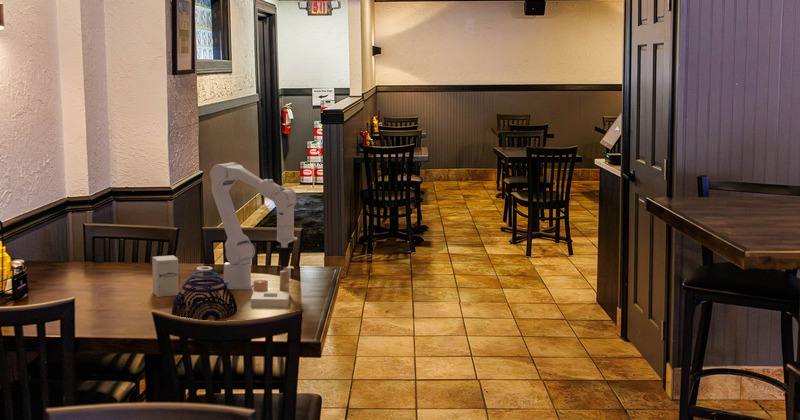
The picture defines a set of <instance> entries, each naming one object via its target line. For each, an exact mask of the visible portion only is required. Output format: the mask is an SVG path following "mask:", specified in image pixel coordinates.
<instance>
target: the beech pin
mask: <svg viewBox="0 0 800 420" xmlns="http://www.w3.org/2000/svg"><path fill="white" fill-rule="evenodd" d="M279 291H290V270H280V271H279Z"/></svg>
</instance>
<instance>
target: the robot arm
mask: <svg viewBox="0 0 800 420" xmlns="http://www.w3.org/2000/svg"><path fill="white" fill-rule="evenodd" d="M209 177H210V180H211V193H212V196H213V199H214V202H215V205H216V207H217V210H218V214H219V217H220V219H221V223H222V225H223V229H224V231H225V234H226V237H227V239H226V241H225V243H224V248H225V257H226V259H227V261H228V262H224V264H223V278H222V279H223V280H224V282H225V283H226V285H227V288H228V289H229V290H251V289H252V287H253V282H252V281H251V280H252V278H251V277H252V273H251V272H252V259H253V258H254V256H255V254H256V248H255V245H254V244H253V243H252V242H251V241H250V238H249V236H247V235H246V234H244V232H243V229H242V227H241V223H240V220H239V218H238V215H237V212H236V209H235V207H234V203H233V200H232V197H231V194H230V192H229V191H230V190H231V187H232V186H233V185H234V184H235V182H237V181H241V182H242V183H243V182H244V183H245V184H247V185H250V186H251V187H254V188H256V189H257V192H258V194H259V195H261V196H263V197H265V198H267V199H268V200H271V201H272V202H273V204H274V206H275V207H276V208H275V209H276V241H277V243H278V245H276V247H275V248H276V250H277V251H276V252H277V253H278V255H279V260H280V264H281V267H282V268H288V267H289V263H290V260H291V255H292V252H293V249H294V244H295V241H298V237H297V236H296V237H295V205H296V203H297V200H298V196H297V193H296V191H294V190H293V188H285V187H284V186H283V185H279V184H277V183H275V182H274V179H272V178H270V179H268V178H265V179H262V178H260V177H258V175H255V174H254V173H252V172H251V171H249V170H247V169H246V168H244V166H243V165H241V164H238V162H234V161H232V162H227V163H218V164H217V163H216V164H214V166H213V167H212V168H211V170H210V173H209Z"/></svg>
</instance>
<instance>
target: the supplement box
mask: <svg viewBox="0 0 800 420" xmlns="http://www.w3.org/2000/svg"><path fill="white" fill-rule="evenodd" d="M151 259H152V262H151V263H152V266H151V267H152V294H154V295H155V296H156V297H157V298H160V297H161V298H162V297H169V296H170V297H171V296H177V295H178V293H179V292H180V289H179V285H180V284H179V259H178V257H177V256H175V255H172V254H171V255H158V256H152V258H151Z"/></svg>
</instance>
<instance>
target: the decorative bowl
mask: <svg viewBox="0 0 800 420" xmlns="http://www.w3.org/2000/svg"><path fill="white" fill-rule="evenodd" d="M196 270H197V271H195V272H193V273H191V274H190V277H189V278H187V279H186V280H185V282H184V283H183V285H182V286H181V288H182V290H184V291H183V292H182V291H181V290H180V291H179V293H178V295H175V299H174V300H173V303H172V307H171V312H172V313H171V314H172V316H173V315H177V316H178V317H179V316H181V317H186V318H187V317H188V318H189V319H190V318H193V319H196V320H197V319H199V320H201V319H202V320H209V318H210V317H213V318H214V321H218V320H225V319H228V318H231V317H233V316H235V315H236V314H237V313H238V303H237V302H236V299H235V296H234V294H233V293H232V292H231V291H230V289H228V288H227V285H226V283H225V282H224V280H223V279H224V278H222V277H220V276H219V273H218V272H215V271H212V270H214V268H213V266H210V265H209V266H205V265H203V266H201V265H200V266H197V267H196ZM206 273H207V274H208V273H209V274H212V275H202V276H201V275H197V274H206ZM219 285H222V286H220V287H216V286H219ZM186 286H190V287H186ZM215 287H216V288H215ZM220 291H223V292H222V295H221V293H220ZM206 293H207V294H208V295H207V294H206ZM193 294H194V295H193ZM191 301H192V302H191ZM187 306H189V308H188V310H187ZM213 306H215V307H213ZM194 315H195V316H194ZM196 317H197V318H196ZM200 318H201V319H200Z"/></svg>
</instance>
